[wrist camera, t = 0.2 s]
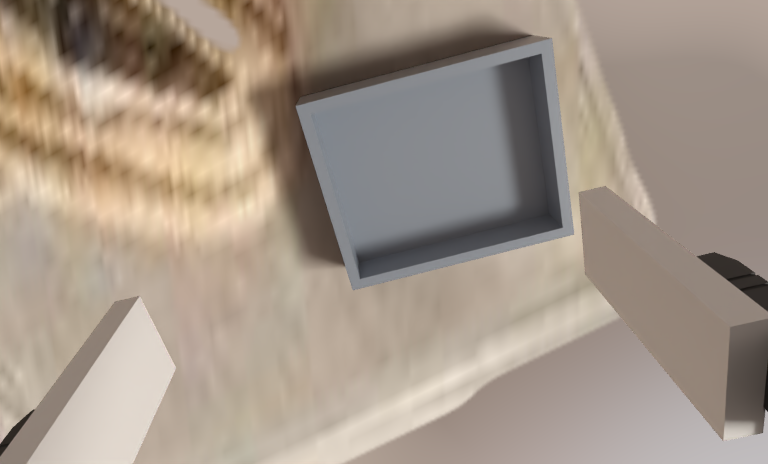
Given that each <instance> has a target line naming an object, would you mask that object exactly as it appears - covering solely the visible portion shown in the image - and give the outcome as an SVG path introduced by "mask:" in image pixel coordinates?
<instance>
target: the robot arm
mask: <svg viewBox="0 0 768 464" xmlns="http://www.w3.org/2000/svg"><path fill="white" fill-rule="evenodd" d="M579 202H580V214H581V227H582V240H583V252H584V265H585V274H586V276H587V277H588V278H589V279H590V281H591V282H592V283H593V284H594V285H595V287H596V288H597V289H598V290H599V291H600V293H601V294H602V295H603V296H604V297H605V299H606V300H607V301H608V302H609V304H610V305H611V306H612V307H613V308H614V310H615V311H616V312H617V313H618V314H619V316H620V317H621V318H622V319H623V320H624V321H625V323H626V324H627V325H628V326H629V328H630V329H631V330H632V331H633V333H634V334H635V335H636V336H637V337H638V338H639V340H640V341H641V342H642V343H643V345H644V346H645V347H646V348H647V349H648V351H649V352H650V353H651V354H652V356H653V357H654V358H655V359H656V360H657V362H658V363H659V364H660V365H661V366H662V367H663V369H664V370H665V371H666V372H667V374H669V376H670V377H671V378H672V380H673V381H674V382H675V383H676V385H677V386H678V387H679V388H680V389H681V391H682V392H683V393H684V394H685V395H686V397H687V398H688V399H689V400H690V402H691V403H692V404H693V405H694V406H695V408H696V409H697V410H698V411H699V412H700V413H701V415H702V416H703V417H704V418H705V420H706V421H707V422H708V423H709V424H710V425H711V427H712V428H713V429H714V431H715V432H716V433H717V434H718V435H719V437H720V438H721V439H722V440H723V441H727V440H732V439H737V438H741V437H746V436H751V435H755V434H760V433H763V426H764V417H765V409H766V410H767V411H768V282H767V281H766V280H765V279H763V278H762V277H760V276H759V275H755V273H754V272H753V271H752V270H750V269H749V268H747V267H746V266H744V265H743V264H742V263H740V262H739V261H737V260H734V259H732V258H728V257H725V256H723V255H720V254H717V253H715V252H714V253H709V254H705V255H701V256H695V255H694V254H693V253H691V252H690V251H689V250H687V249H686V248H685V247H684V246H682V245H681V244H680V243H678V242H677V241H676V240H674V239H673V238H672V237H671V236H669V235H668V234H667V233H665V232H664V231H663V230H661V229H660V228H659V227H658V226H656V225H655V224H654V223H652V222H651V221H650V220H649V219H647V218H646V217H645V216H643V215H642V214H641V213H640V212H638V211H637V210H636V209H634V208H633V207H632V206H630V205H629V204H628V203H627V202H625V201H624V200H623V199H621V198H620V197H619V196H618V195H616V194H615V193H614V192H612V191H611V190H610V189H608V188H607V187H606V186H603V187H599V188H595V189H591V190H586V191H582V192H579ZM175 369H176V367H175V365H174V363H173V361H172V359H171V357H170V355H169V353H168V351H167V349H166V347H165V345H164V343H163V341H162V339H161V337H160V335H159V333H158V331H157V329H156V327H155V325H154V323H153V321H152V319H151V317H150V315H149V313H148V311H147V309H146V307H145V305H144V304H143V302H142V300H141V298H140V296H137V297H133V298H129V299H125V300H120V301H116V302H114V304H113V305H112V306H111V308H110V309H109V311H108V312H107V313H106V315H105V316H104V317H103V319H102V320H101V321H100V323H99V324H98V325H97V327H96V328H95V329H94V331H93V332H92V333H91V335H90V336H89V338H88V339H87V340H86V342H85V343H84V344H83V346H82V347H81V348H80V350H79V351H78V352H77V354H76V355H75V356H74V358H73V359H72V360H71V362H70V363H69V365H68V366H67V367H66V369H65V370H64V371H63V373H62V374H61V375H60V377H59V378H58V379H57V381H56V382H55V383H54V385H53V386H52V387H51V389H50V390H49V392H48V393H47V394H46V396H45V397H44V398H43V400H42V401H41V402H40V404H39V405H38V406H37V408H36V409H35V410H32V411H31V412H30V413H29V414H28V415H26V416H25V417H24V418H23V419H22V420H21V421H20V422H19V423H17V424H16V425H15V426H14V427H13V428H12V429H11V431H10V432H9V433H8V435H7V436H6V437H5V438H4V440H3V441H2V442H1V444H0V464H133V462H134V460H135V458H136V456H137V453H138V451H139V449H140V447H141V445H142V442H143V440H144V438H145V436H146V434H147V431H148V429H149V427H150V425H151V422H152V420H153V418H154V416H155V414H156V411H157V409H158V407H159V405H160V403H161V400H162V398H163V396H164V394H165V391H166V389H167V387H168V385H169V383H170V380H171V378H172V376H173V374H174V372H175Z"/></svg>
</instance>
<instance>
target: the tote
mask: <svg viewBox="0 0 768 464" xmlns="http://www.w3.org/2000/svg"><path fill="white" fill-rule="evenodd" d="M296 109H297V113H298V116H299V119H300V122H301V125H302V129H303V132H304V135H305V138H306V141H307V145H308V148H309V151H310V154H311V158H312V161H313V164H314V167H315V170H316V174H317V177H318V180H319V183H320V186H321V190H322V193H323V196H324V199H325V202H326V206H327V209H328V212H329V215H330V219H331V222H332V225H333V228H334V231H335V235H336V238H337V241H338V244H339V247H340V251H341V254H342V257H343V260H344V263H345V267H346V270H347V273H348V276H349V280H350V283H351V286H352V289H353V290H356V289H360V288H364V287H368V286H372V285H376V284H380V283H384V282H388V281H392V280H396V279H400V278H404V277H407V276H411V275H415V274H419V273H423V272H427V271H431V270H435V269H439V268H443V267H447V266H451V265H455V264H459V263H463V262H467V261H471V260H475V259H479V258H483V257H487V256H491V255H495V254H499V253H503V252H507V251H510V250H514V249H518V248H522V247H526V246H530V245H534V244H538V243H542V242H546V241H550V240H554V239H558V238H562V237H566V236H570V235H574V229H573V220H572V211H571V202H570V193H569V184H568V176H567V167H566V158H565V149H564V140H563V132H562V123H561V114H560V105H559V96H558V88H557V79H556V70H555V61H554V52H553V43H552V38H547V37H541V36H534V35H532V36H528V37H524V38H521V39H517V40H513V41H509V42H505V43H502V44H498V45H494V46H490V47H487V48H483V49H479V50H475V51H472V52H468V53H464V54H460V55H457V56H453V57H449V58H445V59H441V60H438V61H434V62H430V63H426V64H423V65H419V66H415V67H411V68H408V69H404V70H400V71H396V72H393V73H389V74H385V75H381V76H377V77H374V78H370V79H366V80H362V81H359V82H355V83H351V84H347V85H344V86H340V87H336V88H332V89H329V90H325V91H321V92H317V93H314V94H310V95H306V96H302V97H300V98H299V100H298V102H297V104H296Z"/></svg>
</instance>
